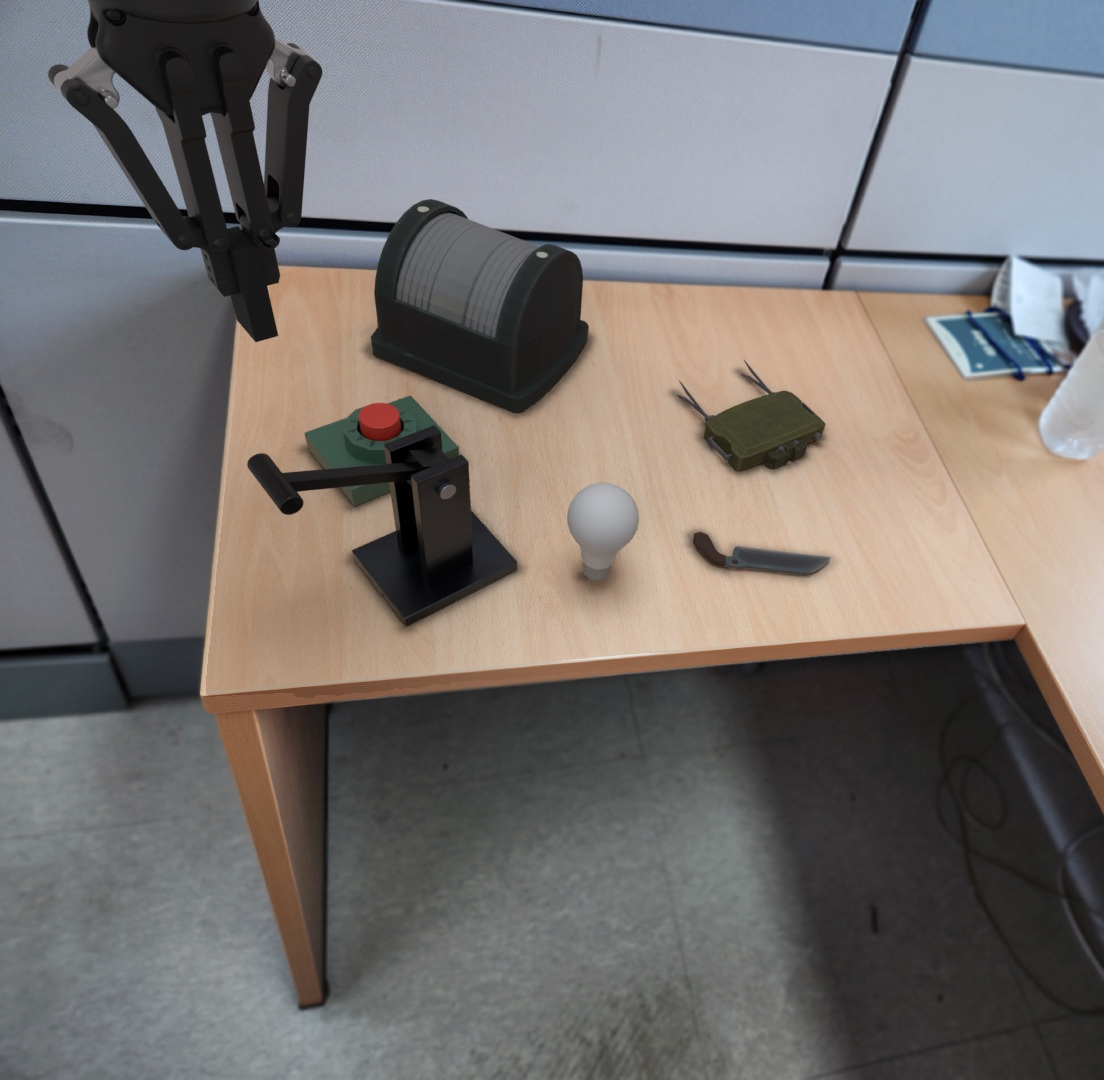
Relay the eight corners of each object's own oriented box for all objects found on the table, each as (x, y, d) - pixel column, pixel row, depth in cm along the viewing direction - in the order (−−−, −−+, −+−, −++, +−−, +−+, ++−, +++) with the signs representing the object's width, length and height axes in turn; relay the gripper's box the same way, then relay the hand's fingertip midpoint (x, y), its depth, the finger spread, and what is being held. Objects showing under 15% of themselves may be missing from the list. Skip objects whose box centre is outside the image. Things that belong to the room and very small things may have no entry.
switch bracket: (406, 627, 71) (390, 517, 61) (353, 558, 75) (329, 444, 65) (517, 569, 78) (519, 461, 67) (463, 509, 81) (457, 397, 71)
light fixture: (529, 304, 80) (344, 232, 82) (526, 417, 91) (362, 351, 93) (606, 230, 92) (442, 168, 94) (595, 339, 102) (448, 281, 104)
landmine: (746, 466, 89) (664, 381, 95) (741, 484, 91) (661, 400, 97) (841, 426, 96) (759, 351, 102) (834, 444, 98) (754, 368, 104)
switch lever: (277, 521, 57) (284, 493, 56) (243, 476, 59) (249, 448, 58) (455, 498, 68) (464, 474, 67) (422, 461, 70) (430, 437, 69)
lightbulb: (620, 608, 77) (633, 528, 69) (554, 592, 77) (560, 510, 69) (635, 559, 81) (649, 477, 73) (572, 543, 81) (580, 460, 73)
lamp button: (372, 446, 79) (370, 432, 78) (353, 424, 81) (351, 410, 79) (408, 433, 81) (406, 419, 80) (389, 411, 83) (387, 397, 81)
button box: (354, 506, 79) (348, 476, 76) (308, 449, 82) (300, 418, 79) (459, 463, 85) (458, 433, 82) (412, 411, 88) (409, 381, 85)
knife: (692, 565, 82) (693, 560, 81) (692, 534, 84) (693, 529, 84) (832, 581, 84) (834, 576, 83) (828, 550, 86) (830, 546, 86)
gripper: (15, -66, 34) (177, 391, 52) (329, -71, 42) (378, 330, 59) (-45, -127, 37) (127, 325, 54) (258, -122, 44) (325, 275, 62)
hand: (257, 327), depth 57 cm, fingers closed
